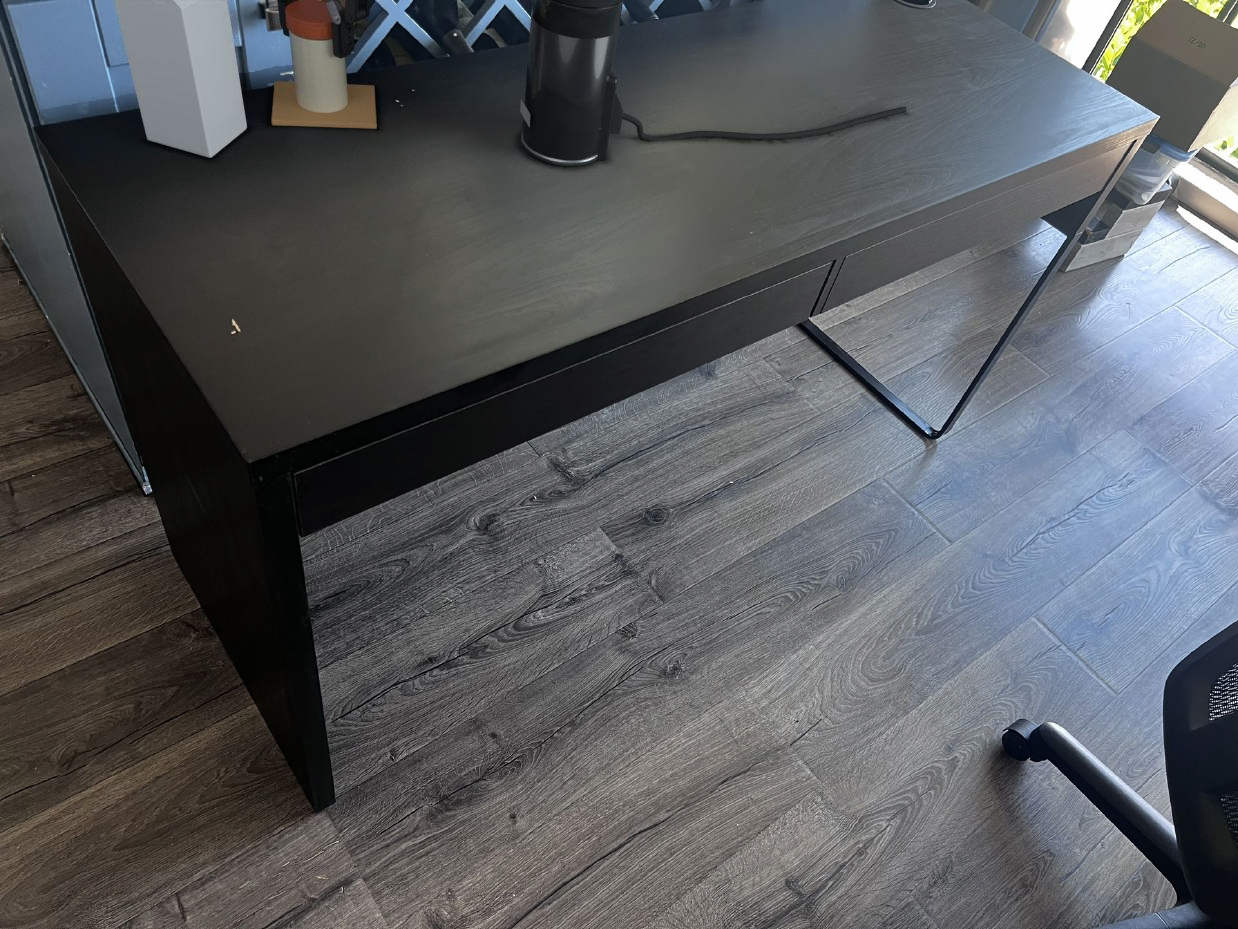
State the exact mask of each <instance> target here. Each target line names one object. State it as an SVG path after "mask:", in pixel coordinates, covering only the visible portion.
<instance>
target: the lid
mask: <svg viewBox="0 0 1238 929" xmlns="http://www.w3.org/2000/svg"><path fill="white" fill-rule="evenodd" d="M340 9H342V7H340ZM285 12H286V24H287V28H288V29H289V30H290V31H291V32H292V33H293V34H295V35H298V36H300V37H304V38H309V39H330V38H332V29H331V22H333V20H332V18H331V15H330V13H329V11H328V8H327V6H326V3H325V2H324V1H322V0H298V1H295V2H292V3H290V4H289V5H287V7H286V9H285Z"/></svg>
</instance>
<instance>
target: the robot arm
mask: <svg viewBox="0 0 1238 929" xmlns="http://www.w3.org/2000/svg"><path fill="white" fill-rule="evenodd" d="M276 1H277V10H278V17H279V19H278V20H279V24H280V27H281V29H282V34H283V36H286V37H288V38H290V37H289V29H288V28H287V24H286V12H285V9H286V7H287V5H289V4H290V3H292V2H295V1H298V0H276ZM322 1H324V2H325V3H326V6H327V8H328V11H329V13H330V15H331V18H332V20H333V22H331V29H332V43H333V55H334V56H335V57H338V58H340V59H342V58H344V57H345V58H346V57H348V56H350V55H351V54H352V52H354V50H355V30H354V24H355V23H357V22H360V21H363V20H364V19H367V18H368V17H370V14H371V0H322ZM338 1H339V3H340V5H339V3H338ZM623 5H624V0H531V12H530V22H529V23H530V24H529V37H528V38H529V39H528V50H527V65H526V77H525V93H524V101H523V100H522V98H520V106H519V107H520V108H519V112H520V114H521V115H522V117H523V119H522V126H521V127H522V131H521V134H520V135H521V136H520V143H521V147H522V148H523V149H524V151H526V152H527V153H528V154H529V155H530V156H531V157H533V158H535V159H537V160H539V161H541V162H544V163H547V164H551V165H553V166H554V165H555V166H560V167H580V166H585V165H589V164H591V163H594V162H596V161H605V160H607V154H608V147H609V140H610V135H620V134H621V128H622V121H623V120H624V121H626V122H628V123H631V124H632V125H634V126H635V127H636V133H637V136H638V137H639V138H640V139H641V140H643V141H646V142H664V141H680V140H686V139H693V138H724V139H738V140H750V141H751V140H752V141H753V140H754V141H756V140H757V141H764V140H765V141H767V140H768V141H769V140H770V141H771V140H772V141H773V140H788V139H798V138H805V137H806V138H807V137H812V136H817V135H825V134H828V133H833V132H837V131H840V130H844V129H846V128H850V127H854V126H856V125H859V124H864V123H868V122H871V121H876V120H879V119H883V118H887V117H891V116H894V115H899V114H903V113H905V112H906V111H907V110H908V109H907V107H906V106H900V107H896V108H892V109H888V110H883V111H880V112H876V113H872V114H868V115H863V116H861V117H858V118H854V119H850V120H848V121H844V122H841V123H837V124H833V125H830V126H825V127H820V128H814V129H807V130H801V131H791V132H776V133H775V132H774V133H772V132H771V133H751V132H750V133H749V132H736V131H723V130H722V131H721V130H693V131H686V132H681V133H676V134H670V135H663V136H656V135H655V136H654V135H651V134H650V135H649V134H647V133H645V132H644V127H643V124H642V122H641V121H640V120H639V119H638V118H636V117H635V116H633V115H631V114H629V113H626V112H624V109H623V107H622V105H621V104H622V103H621V102H620V99H619V97H618V95H617V93H616V92H617V85H618V77H617V74H616V72H615V70H614V68H615V61H616V55H617V53H616V52H617V47H618V40H619V34H620V26H621V20H622V19H621V18H622V12H623ZM340 6H341V7H340ZM340 8H341V9H340Z"/></svg>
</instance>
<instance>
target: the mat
mask: <svg viewBox="0 0 1238 929" xmlns="http://www.w3.org/2000/svg"><path fill="white" fill-rule="evenodd" d="M347 88H348V105H347V106H346V107H345V108H344V109H342V110H340V111H337V112H332V113H317V112H312V111H308V110H306V109H304V108H302V107H301V106H299V105H298V103H297V101H296V92H295V83H294V81H280V80H275V81H274V86H273V98H272V99H273V100H272V111H271V126H283V127H311V128H312V127H313V128H317V127H318V128H343V129H344V128H345V129H372V130H375V129H377V126H378V125H377V124H378V123H377V109H376V108H377V106H376V92H375V91H376V90H375V85H372V84H371V85H370V84H350V83H349V84H348V83H347Z"/></svg>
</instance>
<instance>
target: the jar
mask: <svg viewBox="0 0 1238 929" xmlns="http://www.w3.org/2000/svg"><path fill="white" fill-rule="evenodd" d="M288 38H289V47H290V53H291V54H290V55H291V61H292V62H291V63H292V73H293V82H294V83H295V92H296V101H297V103H298V105H299V106H301V107H302V108H304V109H306V110H308V111H312V112H317V113H332V112H337V111H340V110H342V109H344V108H345V107H346V106H347V105H348V88H347V84H348V76H347V75H348V73H347V61H346V60H347V59H346V57H344V58H342V59H340V58H338V57H335V56H334V55H333V43H332V38H330V39H309V38H304V37H300V36H298V35H295V34H293V33H292V32H291V31H290V30H289V37H288Z"/></svg>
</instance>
